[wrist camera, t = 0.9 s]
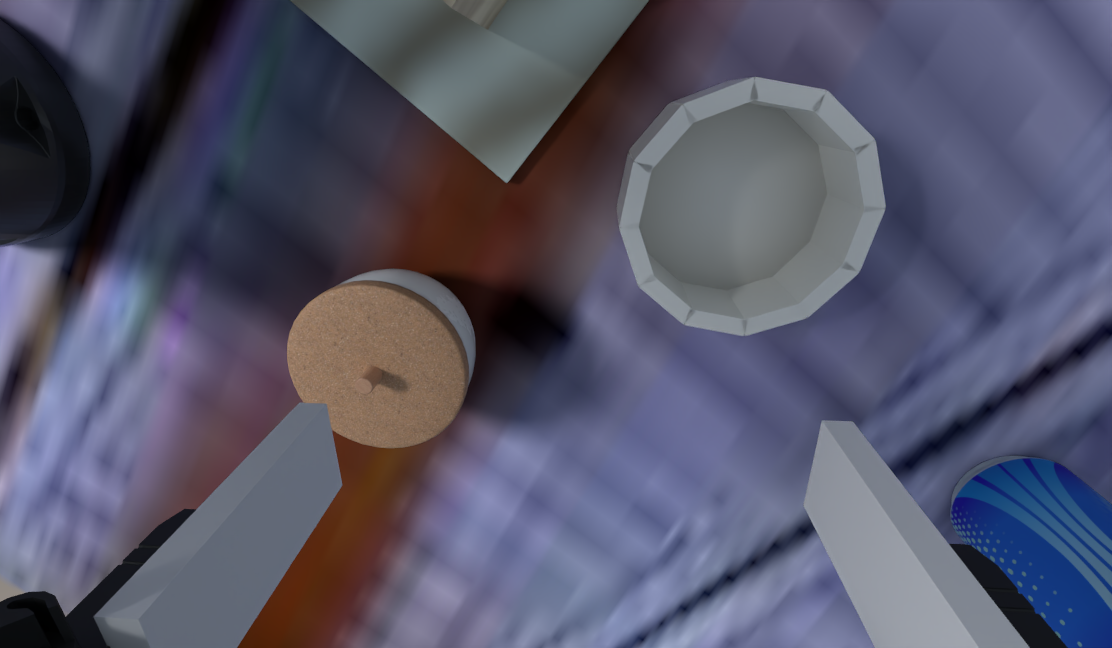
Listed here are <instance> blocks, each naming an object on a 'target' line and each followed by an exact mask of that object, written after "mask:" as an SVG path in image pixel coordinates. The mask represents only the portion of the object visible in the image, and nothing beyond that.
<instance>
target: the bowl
mask: <svg viewBox="0 0 1112 648" xmlns="http://www.w3.org/2000/svg"><path fill="white" fill-rule="evenodd" d="M874 140H875V139H874V138H873V137H872V136H871V135H870V133H869V132H868V131H867V130H866V129H865V128H864V127H863V126H862V125H861V124H860V123H859V122H858V121H857V120H856V119H855V118H854V117H853V116H852V115H851V114H850V113H849V112H848V111H847V110H846V109H845V108H844V107H843V106H842V105H841V104H840V103H839V102H838V101H837V99H836V98H835V97H834V96H833V95H832V94H831V93H830V92H829V91H826V90H824V89H819V88H814V87H808V86H803V85H797V84H792V83H786V82H781V81H776V80H770V79H765V78H759V77H750V78H743V79H736V80H729V81H725V82H723V83H720V84H717V85H715V86H712V87H710V88H707V89H704V90H702V91H699V92H696V93H694V94H691V95H689V96H686V97H683V98H681V99H678V100H676V101H673V102H670V104H668V105H667V106H666V107H665V108H664V109H663V111H662V112H661V113H660V114H659V115H658V116H657V118H656V119H655V120H654V121H653V122H652V123H651V125H650V126H649V127H648V128H647V129H646V130H645V132H644V133H643V134H642V135H641V136H640V138H639V139H638V140H637V141H636V142H635V143H634V145H633V146H632V147H631V148H630V149H629V151H628V155H627V160H626V164H625V169H624V174H623V178H622V183H621V188H620V192H619V197H618V202H617V215H618V223H619V229H620V233H621V236H622V239H623V242H624V245H625V248H626V251H627V254H628V257H629V260H630V263H631V266H632V269H633V272H634V275H635V278H636V281H637V284H638V286H639V288H641V289H642V290H643V291H644V292H645V293H646V294H648V295H649V296H650V297H651V298H652V299H654V300H655V301H656V302H657V303H658V304H659V305H661V306H662V307H663V308H664V309H665V310H667V311H668V312H669V313H670V314H671V315H672V316H674V317H675V318H676V319H677V320H678V321H680V322H681V323H682V324H684V325H686V326H692V327H697V328H702V329H708V330H713V331H718V332H723V333H729V334H734V335H739V336H744V335H745V336H747V335H751V334H754V333H758V332H761V331H765V330H768V329H772V328H775V327H779V326H782V325H786V324H789V323H793V322H796V321H800V320H803V319H807V318H806V316H807V317H810V316H811V315H812V314H813V313H814V312H815V311H816V310H818V309H819V308H820V307H821V306H822V305H823V304H824V303H826V302H827V301H828V300H829V299H830V298H831V297H832V296H834V295H835V294H836V293H837V292H838V291H839V290H840V289H842V288H843V287H844V286H845V285H846V284H847V283H848V282H850V281H851V280H852V279H853V278H854V277H855V276H856V275H858V274H859V273H858V272H860V270H861V268H862V265H863V263H864V261H865V258H866V256H867V253H868V251H869V248H870V246H871V243H872V241H873V239H874V236H875V234H876V231H877V229H878V226H879V224H880V221H881V219H882V217H883V214H884V212H885V207H886V205H885V198H884V191H883V185H882V178H881V172H880V165H879V158H878V152H877V145H876V141H874Z"/></svg>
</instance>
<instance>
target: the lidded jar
mask: <svg viewBox="0 0 1112 648" xmlns="http://www.w3.org/2000/svg"><path fill="white" fill-rule="evenodd" d="M475 357H476V347H475V335H474V329H473V326H472V323H471V321H470V318H469V316H468V314H467V312H466V310H465V308H464V307H463V305H462V304H461V302H460V301H459V300H458V298H457V297H456V296H455V295H454V294H453V293H452V292H451V291H450V290H449V289H448V288H447V287H445V286H444V285H443V284H441V283H440V282H438V281H436V280H435V279H433V278H431V277H429V276H426V275H424V274H421V273H418V272H414V271H409V270H405V269H381V270H375V271H371V272H367V273H363V274H360V275H357V276H355V277H353V278H350V279H348V280H346V281H344V282H342V283H340V284H339V285H337V286H335V287H333V288H331V289H329V290H327V291H325V292H323V293H322V294H320V295H319V296H317V297H316V298H314V299H313V300H312V301H310V302H309V303H308V304H307V305H306V306H305V307H304V308H303V309H302V310H301V312H300V313H299V315H298V316H297V318H296V319H295V321H294V323H293V326H292V328H291V331H290V333H289V338H288V344H287V361H288V367H289V372H290V375H291V378H292V381H293V384H294V386H295V388H296V390H297V392H298V394H299V396H300V398H301V399H302V400H303V402H304V403H322V404H327V408H328V414H329V419H330V424H331V429H332V430H334V431H335V432H336V433H338V434H340V435H342V436H344V437H346V438H348V439H350V440H353V441H356V442H358V443H361V444H364V445H369V446H374V447H382V448H402V447H408V446H413V445H417V444H420V443H422V442H425V441H428V440H429V439H431V438H433V437H435V436H437V435H438V434H439V433H441V432H442V431H443V430H444V429H446V428H447V427H448V426H449V424H450V423H451V422H452V421H453V420H454V419H455V417H456V415H457V414H458V412H459V410H460V408H461V406H462V404H463V402H464V399H465V396H466V393H467V389H468V386H469V383H470V380H471V377H472V374H473V369H474V363H475Z"/></svg>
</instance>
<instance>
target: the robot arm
mask: <svg viewBox="0 0 1112 648" xmlns="http://www.w3.org/2000/svg"><path fill="white" fill-rule="evenodd" d="M89 177H90V158H89V150H88V144H87V139H86V135H85V131H84V128H83V125H82V122H81V119H80V117H79V114H78V112H77V110H76V107H75V105H74V103H73V101H72V99H71V97H70V95H69V93H68V92H67V90H66V88H65V87H64V85H63V83H62V82H61V80H60V79H59V77H58V76H57V74H56V73H55V72H54V70H53V69H52V68H51V66H50V65H49V64H48V63H47V61H46V60H45V59H44V58H43V57H42V55H41V54H40V53H39V52H38V51H37V50H36V49H35V48H34V47H33V46H32V45H31V44H30V43H29V42H28V41H27V40H26V39H25V38H24V37H22V36H21V35H20V34H19V33H18V32H17V31H15V30H14V29H13V28H11V27H10V26H9V25H7V24H6V23H5V22H3V21H2V20H0V247H3V246H10V245H15V244H19V243H23V242H27V241H32V240H36V239H40V238H43V237H46V236H49V235H52V234H54V233H56V232H58V231H59V230H61V229H62V228H64V227H65V226H66V225H67V224H68V223H69V222H70V221H71V220H72V219H73V218H74V217H75V216H76V214H77V213H78V211H79V210H80V208H81V206H82V204H83V202H84V199H85V197H86V193H87V190H88V184H89ZM341 486H342V481H341V476H340V471H339V465H338V460H337V455H336V450H335V445H334V439H333V434H332V429H331V424H330V419H329V414H328V408H327V404H322V403H299V404H298V405H297V406H296V407H295V408H294V409H293V410H292V411H291V412H290V413H289V414H288V415H287V416H286V417H285V418H284V419H283V420H282V421H281V422H280V423H279V424H278V425H277V427H276V428H275V429H274V430H273V431H272V432H271V433H270V434H269V435H268V436H267V437H266V438H265V439H264V440H263V441H262V442H261V443H260V444H259V445H258V446H257V447H256V448H255V449H254V450H253V451H252V452H251V454H250V455H249V456H248V457H247V458H246V459H245V460H244V461H243V462H242V463H241V464H240V465H239V466H238V467H237V468H236V469H235V470H234V471H233V472H232V473H231V474H230V475H229V476H228V477H227V478H226V479H225V481H224V482H223V483H222V484H221V485H220V486H219V487H218V488H217V489H216V490H215V491H214V492H213V493H212V494H211V495H210V496H209V497H208V498H207V499H206V500H205V501H204V502H203V503H202V504H201V505H200V506H199V508H198V509H197V510H195V509H184V510H182V511H181V512H179V513H177V514H176V515H174V516H173V517H171V518H170V519H168V520H166V521H165V522H163V523H162V524H160V525H159V526H158V527H157V528H155V529H154V530H153V531H152V532H151V533H150V534H149V535H148V536H147V537H146V538H145V539H144V540H143V541H142V542H141V543H140V544H139V548H138V549H134V550H133V551H132V552H131V553H130V554H129V555H128V556H127V557H126V558H125V559H124V560H123V563H122V565H118V566H117V567H116V568H115V569H114V570H113V571H112V572H111V573H110V574H109V575H108V576H107V577H106V578H105V579H104V580H103V581H102V582H101V583H100V584H99V585H98V586H97V587H96V588H95V589H94V590H93V591H92V592H91V593H89V594H88V595H87V596H86V597H85V598H84V599H83V600H82V601H81V602H80V603H79V604H78V605H77V606H76V607H75V608H74V609H73V610H72V611H71V612H70V613H69V614H68V615H67V616H66V617H65V615H64V613H63V611H62V609H61V607H60V605H59V603H58V601H57V599H56V597H55V596H54V595H52V594H50V593H48V592H45V591H43V592H28V593H24V594H20V595H17V596H14V597H10V598H7V599H5V600H3V601H1V602H0V648H237V646H238V645H239V643H240V642H241V640H242V639H243V637H244V636H245V634H246V633H247V631H248V630H249V628H250V626H251V625H252V623H253V622H254V620H255V619H256V617H257V616H258V614H259V613H260V611H261V610H262V608H263V606H264V605H265V603H266V602H267V600H268V599H269V597H270V596H271V594H272V593H273V591H274V590H275V588H276V586H277V585H278V583H279V582H280V580H281V579H282V577H283V576H284V574H285V573H286V571H287V570H288V568H289V566H290V565H291V563H292V562H293V560H294V559H295V557H296V556H297V554H298V553H299V551H300V550H301V548H302V546H303V545H304V543H305V542H306V540H307V539H308V537H309V536H310V534H311V533H312V531H313V530H314V528H315V526H316V525H317V523H318V522H319V520H320V519H321V517H322V516H323V514H324V513H325V511H326V510H327V508H328V506H329V505H330V503H331V502H332V500H333V499H334V497H335V496H336V494H337V493H338V491H339V490H340V488H341ZM803 506H804V508H805V509H806V511H807V513H808V515H809V517H810V519H811V521H812V523H813V525H814V527H815V529H816V531H817V533H818V535H819V537H820V539H821V541H822V543H823V545H824V547H825V549H826V551H827V553H828V555H829V557H830V559H831V561H832V563H833V565H834V567H835V569H836V571H837V573H838V575H839V577H840V579H841V581H842V583H843V585H844V587H845V589H846V591H847V593H848V595H849V597H850V599H851V601H852V603H853V605H854V607H855V609H856V611H857V613H858V615H859V617H860V619H861V621H862V623H863V625H864V627H865V629H866V631H867V633H868V635H869V637H870V639H871V641H872V643H873V645H874V647H875V648H1068V647H1067V646H1066V645H1065V644H1064V643H1063V641H1062V640H1061V639H1060V638H1059V637H1058V635H1057V634H1056V633H1055V632H1054V631H1053V630H1052V628H1051V627H1050V626H1049V625H1048V624H1047V623H1046V621H1045V620H1044V619H1043V618H1042V617H1041V616H1040V614H1036V613H1035V610H1034V609H1035V608H1034V607H1033V606H1032V605H1031V604H1030V603H1029V601H1028V600H1027V599H1026V598H1025V597H1024V596H1023V594H1019V593H1018V589H1017V587H1016V586H1015V585H1014V584H1013V583H1012V581H1011V580H1010V579H1009V578H1008V577H1007V576H1006V574H1005V573H1004V572H1003V571H1002V570H1001V569H1000V567H999V566H998V565H997V564H995V563H994V562H993V561H991V560H990V559H989V558H987V557H986V556H984V555H983V554H982V553H980V552H979V551H978V550H976V549H975V548H974V547H972V546H971V545H965V544H948V543H947V541H946V540H945V539H944V537H943V536H942V535H941V534H940V532H939V531H938V530H937V528H936V527H935V526H934V525H933V523H932V522H931V521H930V520H929V518H928V517H927V516H926V514H925V513H924V512H923V511H922V509H921V508H920V507H919V505H918V504H917V503H916V502H915V500H914V499H913V498H912V497H911V495H910V494H909V493H908V491H907V490H906V489H905V488H904V486H903V485H902V484H901V482H900V481H899V480H898V479H897V477H896V476H895V475H894V474H893V472H892V471H891V470H890V468H889V467H888V466H887V465H886V463H885V462H884V461H883V459H882V458H881V457H880V456H879V454H878V453H877V452H876V451H875V449H874V448H873V447H872V445H871V444H870V443H869V442H868V440H867V439H866V438H865V436H864V435H863V434H862V433H861V431H860V430H859V429H858V428H857V426H856V425H855V424H854V422H853V421H824V420H822V423H821V427H820V432H819V436H818V441H817V445H816V450H815V455H814V459H813V464H812V468H811V473H810V477H809V482H808V487H807V491H806V496H805V500H804V505H803Z"/></svg>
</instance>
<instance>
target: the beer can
mask: <svg viewBox="0 0 1112 648" xmlns="http://www.w3.org/2000/svg"><path fill="white" fill-rule="evenodd" d="M951 503H952V506H951V513H950V515H951V522H952V525H953V528H954V530H955V531H956V533H957V534H958V536H959V537H960V538H961V539H962V540H963V542H964V543H965V544H966V545H971V546H972V547H974V548H975V549H976V550H978V551H979V552H980V553H982V554H983V555H984V556H986V557H987V558H989V559H990V560H991V561H993V562H994V563H995V564H997V565H998V566H999V567H1000V569H1001V570H1002V571H1003V572H1004V573H1005V574H1006V576H1007V577H1008V578H1009V579H1010V580H1011V581H1012V583H1013V584H1014V585H1015V586H1016V587H1017V589H1018V593H1019V594H1023V596H1024V597H1025V598H1026V599H1027V600H1028V601H1029V603H1030V604H1031V605H1032V606H1033V607H1034V608H1035V609H1034V610H1035V613H1036V614H1040V616H1041V617H1042V618H1043V619H1044V620H1045V621H1046V623H1047V624H1048V625H1049V626H1050V627H1051V628H1052V630H1053V631H1054V632H1055V633H1056V634H1057V635H1058V637H1059V638H1060V639H1061V640H1062V641H1063V643H1064V644H1065V645H1066V646H1067V647H1068V648H1112V504H1111V503H1110V502H1108V501H1107V500H1106V499H1105V498H1103V497H1102V496H1101V495H1099V494H1098V493H1097V492H1096V491H1094V490H1093V489H1092V488H1091V487H1089V486H1088V485H1087V484H1086V483H1084V482H1083V481H1082V480H1081V479H1079V478H1078V477H1077V476H1076V475H1074V474H1073V473H1072V472H1071V471H1069V470H1068V469H1067V468H1065V467H1064V466H1062V465H1060V464H1058V463H1056V462H1054V461H1050V460H1047V459H1042V458H1032V457H1025V456H1003V457H998V458H994V459H990V460H988V461H985V462H983V463H981V464H979V465H977V466H975V467H974V468H972V469H971V470H970V471H968V472H967V473H966V474H965V475H964V476H963V477H962V478H961V479H960V480H959V482H958V483H957V485H956V486H955V489H954V491H953V494H952V500H951Z"/></svg>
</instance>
